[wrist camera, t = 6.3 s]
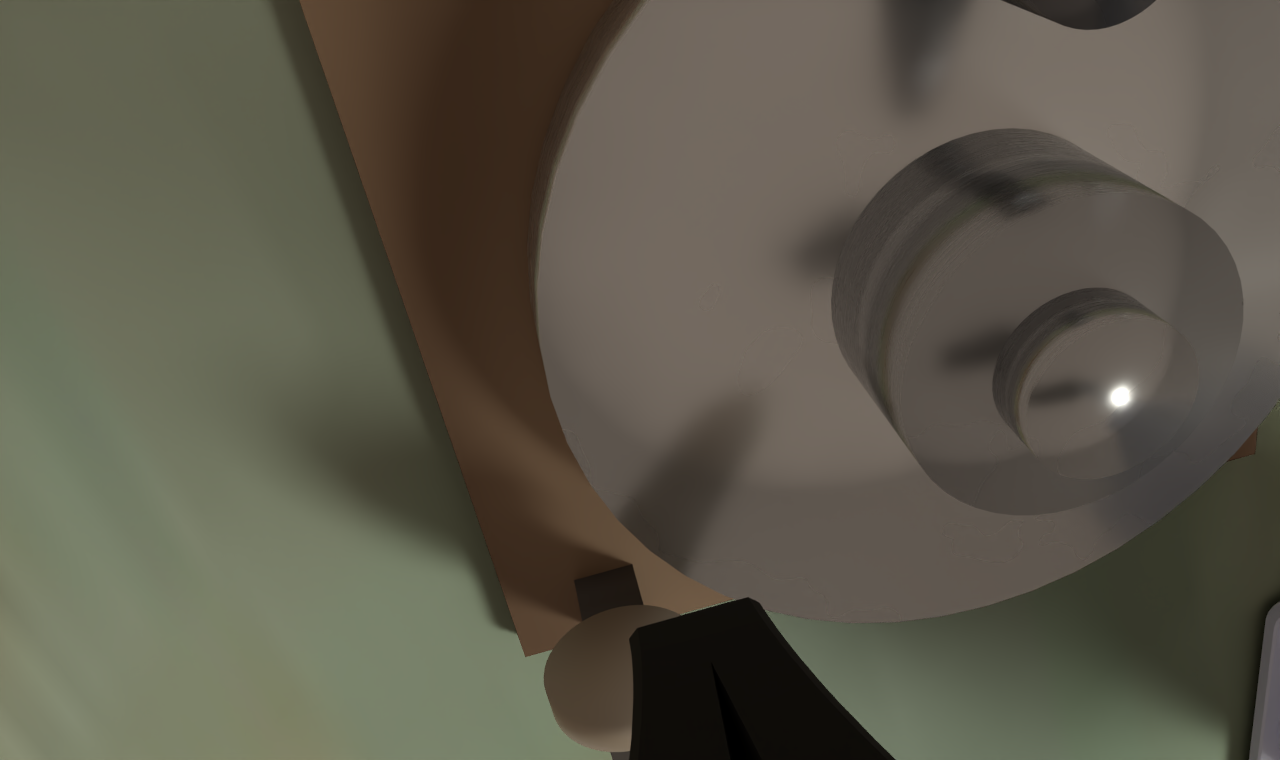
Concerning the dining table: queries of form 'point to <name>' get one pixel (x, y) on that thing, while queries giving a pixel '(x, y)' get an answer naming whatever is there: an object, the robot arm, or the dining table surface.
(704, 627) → the robot arm
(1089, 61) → the turntable
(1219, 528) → the dining table surface
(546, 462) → the base board
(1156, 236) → the cover
